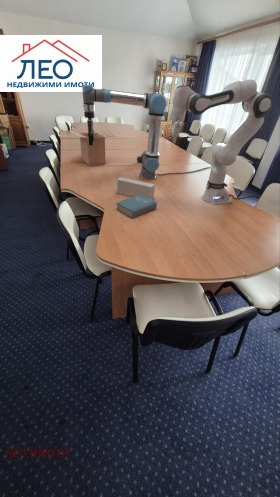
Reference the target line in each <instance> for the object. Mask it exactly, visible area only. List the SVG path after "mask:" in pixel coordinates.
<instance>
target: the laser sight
mask: <svg viewBox="0 0 280 497" xmlns="http://www.w3.org/2000/svg"><path fill="white" fill-rule="evenodd" d="M142 159H143V153H141V155H140V156H139V155H137V157H136V163H140V164H142Z"/></svg>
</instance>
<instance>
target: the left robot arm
mask: <svg viewBox="0 0 280 497" xmlns="http://www.w3.org/2000/svg"><path fill="white" fill-rule="evenodd" d="M81 87H82V90H81V91H82V92H81V93H82V102H83V103H82V104H83V105H82V108H83V115H84V118H85V119H87V120H86V123H87V131H88V134H87V135H88V136H89V145H93V142H94V136H93V132H95V130H94V120H93V119H95V118H96V112H95V111H96V109H95V108H96V107H95V103H106V104H107V103H114V104H121V105H130V106H137V107H143V109H147V110H148V116H149V127H148V128H149V129H148V136H147V137H148V138H147V149H146V150H143V151H142V154H143V159H142V163H141V169H140V172H139V178H140V179H142V180H146V181H154V180H156V178H157V176H165V175H178V174H179V175H180V174H181V175H182V172H166V173H162V174H161V173H156V171H158V169H159V167H160V161H159V160H160V153H159V144H160V135H161V129H162V128H161V126H162V119H163V118H164V116H165V112H166V111H165V110H166V108H167V106H168V102H167V99H166V97H165V95H164V94H162V93H159V92H153V93H150V92H149V93H147V92H145V93H144V94H142V93H136V92H129V91H121V90H113V89H106V88H94V85H93V84H83V85H82V86H81ZM205 169H211V166H207V167H204V168H201V169H197V170H193V171H184V172H183V174H190V173H196V172H200V171H202V170H205Z"/></svg>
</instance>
